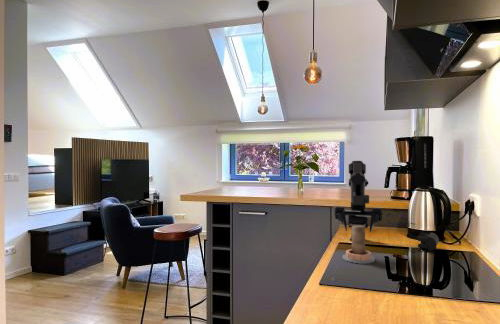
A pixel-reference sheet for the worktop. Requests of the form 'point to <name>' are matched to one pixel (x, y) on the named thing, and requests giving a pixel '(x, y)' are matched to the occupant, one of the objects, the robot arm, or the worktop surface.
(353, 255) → the collar
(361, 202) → the robot arm
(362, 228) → the walnut peg
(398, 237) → the worktop surface
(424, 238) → the end cap
